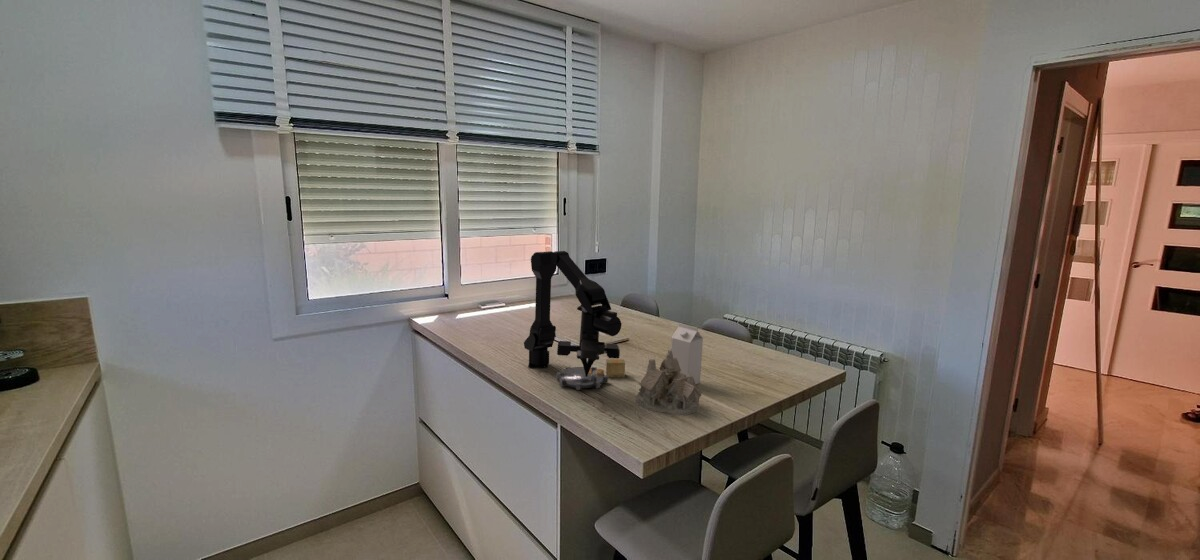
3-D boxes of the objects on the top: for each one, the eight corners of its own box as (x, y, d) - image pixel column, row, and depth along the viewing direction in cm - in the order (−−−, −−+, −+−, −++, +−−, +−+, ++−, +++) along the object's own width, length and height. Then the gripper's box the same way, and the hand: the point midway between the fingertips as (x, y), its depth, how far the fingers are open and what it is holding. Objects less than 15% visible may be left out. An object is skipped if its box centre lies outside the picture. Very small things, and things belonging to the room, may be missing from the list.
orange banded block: (606, 377, 156) (606, 362, 155) (605, 373, 160) (606, 359, 159) (624, 377, 157) (625, 362, 156) (623, 373, 160) (624, 359, 159)
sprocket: (576, 394, 140) (576, 375, 139) (546, 377, 153) (546, 360, 152) (618, 382, 150) (619, 364, 149) (587, 367, 163) (587, 351, 162)
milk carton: (682, 377, 158) (685, 321, 155) (700, 383, 153) (704, 326, 150) (668, 382, 153) (672, 325, 150) (687, 388, 148) (691, 329, 145)
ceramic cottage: (629, 396, 141) (634, 348, 138) (677, 392, 147) (683, 346, 144) (654, 423, 127) (661, 370, 124) (706, 416, 133) (713, 366, 130)
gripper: (558, 333, 135) (554, 385, 138) (623, 337, 136) (618, 388, 139) (559, 322, 146) (556, 370, 149) (619, 326, 147) (615, 374, 150)
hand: (586, 376), depth 146 cm, fingers closed
